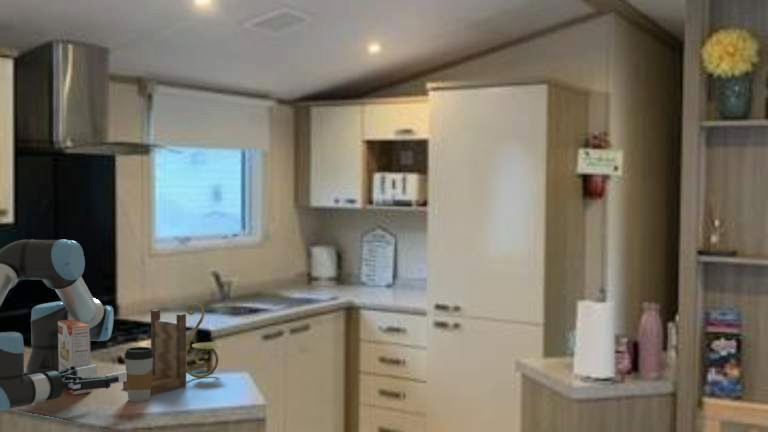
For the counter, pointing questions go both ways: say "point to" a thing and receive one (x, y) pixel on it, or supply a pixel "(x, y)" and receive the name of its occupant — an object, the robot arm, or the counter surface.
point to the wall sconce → (201, 345)
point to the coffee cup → (139, 373)
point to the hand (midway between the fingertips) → (111, 372)
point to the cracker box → (74, 347)
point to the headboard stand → (167, 353)
